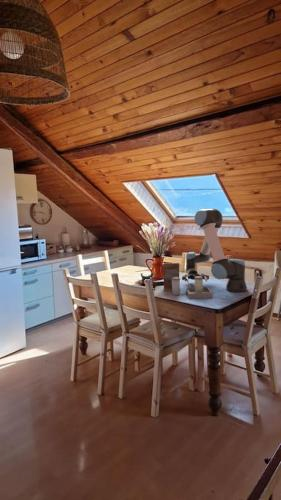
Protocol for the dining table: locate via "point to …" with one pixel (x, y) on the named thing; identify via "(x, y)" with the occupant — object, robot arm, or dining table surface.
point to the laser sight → (148, 278)
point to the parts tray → (205, 294)
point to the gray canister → (176, 286)
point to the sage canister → (198, 284)
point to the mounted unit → (170, 274)
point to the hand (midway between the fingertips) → (197, 280)
